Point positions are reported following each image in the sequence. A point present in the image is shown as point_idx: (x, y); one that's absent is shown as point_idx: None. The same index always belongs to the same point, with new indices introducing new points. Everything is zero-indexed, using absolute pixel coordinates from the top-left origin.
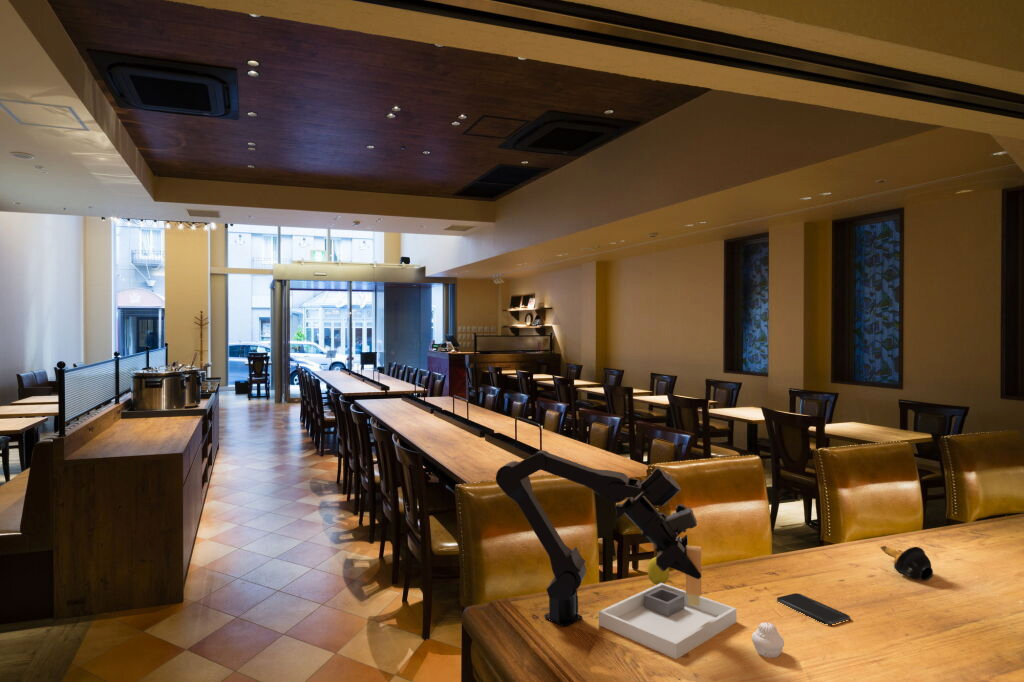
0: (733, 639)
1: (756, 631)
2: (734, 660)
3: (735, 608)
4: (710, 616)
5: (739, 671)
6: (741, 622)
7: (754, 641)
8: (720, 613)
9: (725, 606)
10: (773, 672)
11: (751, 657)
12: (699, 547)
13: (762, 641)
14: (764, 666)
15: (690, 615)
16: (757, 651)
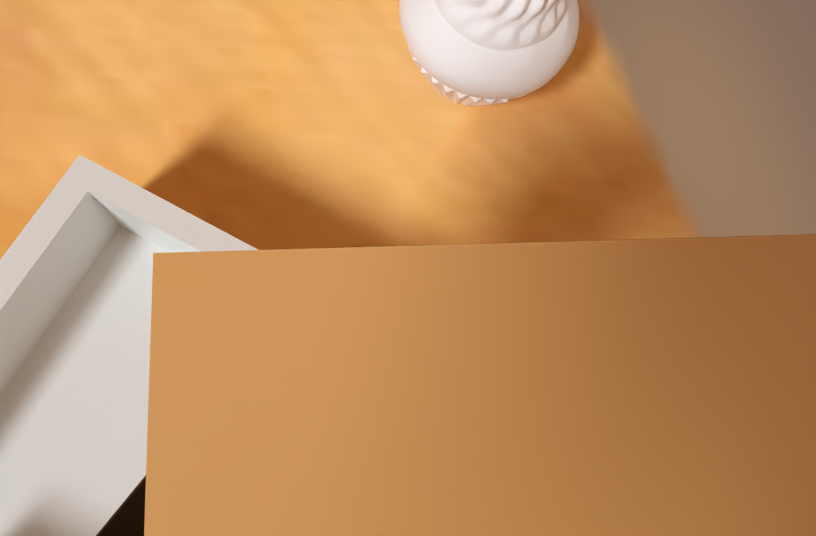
0: (318, 228)
1: (510, 41)
2: (566, 228)
3: (83, 161)
4: (63, 368)
5: (666, 208)
6: (49, 174)
7: (544, 81)
8: (57, 290)
9: (55, 234)
10: (605, 62)
11: (499, 145)
12: (335, 320)
13: (573, 32)
14: (566, 94)
15: (81, 522)
16: (509, 99)
